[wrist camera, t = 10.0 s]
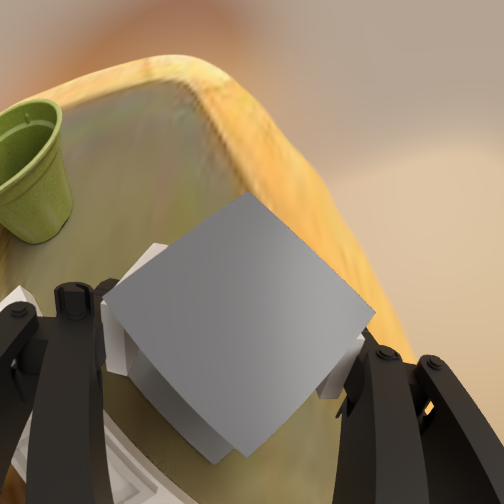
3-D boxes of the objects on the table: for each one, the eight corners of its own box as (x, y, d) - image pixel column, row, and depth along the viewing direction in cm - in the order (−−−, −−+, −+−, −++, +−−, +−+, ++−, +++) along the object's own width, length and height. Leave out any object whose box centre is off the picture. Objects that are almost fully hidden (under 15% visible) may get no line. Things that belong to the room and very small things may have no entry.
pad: (108, 348, 16) (105, 346, 16) (219, 259, 21) (219, 255, 20) (213, 463, 14) (214, 465, 14) (319, 359, 19) (322, 358, 18)
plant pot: (99, 241, 20) (60, 161, 12) (4, 279, 17) (-58, 223, 9) (86, 160, 23) (64, 84, 15) (5, 194, 20) (-32, 131, 12)
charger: (157, 352, 15) (99, 293, 6) (219, 299, 17) (245, 188, 8) (218, 417, 14) (246, 458, 5) (279, 359, 16) (375, 312, 7)
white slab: (-44, 293, 15) (-64, 279, 12) (10, 240, 18) (-8, 221, 15) (158, 576, 9) (154, 598, 6) (236, 530, 12) (244, 551, 9)
